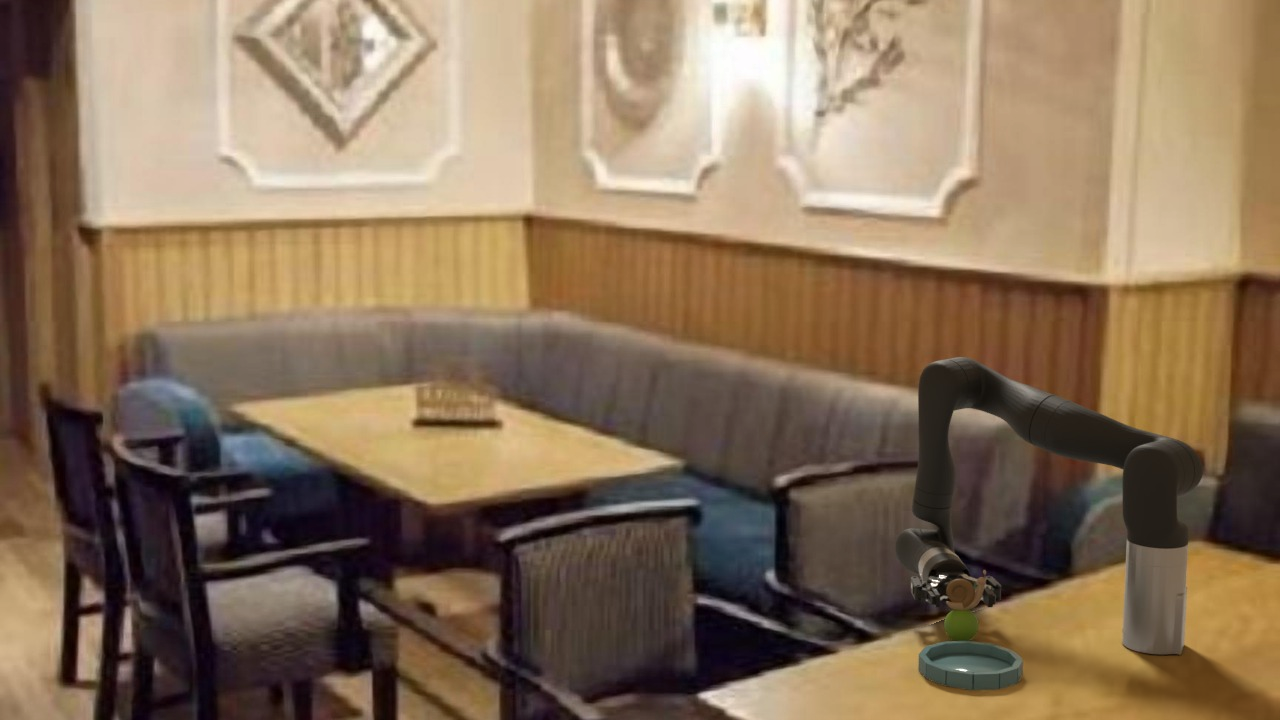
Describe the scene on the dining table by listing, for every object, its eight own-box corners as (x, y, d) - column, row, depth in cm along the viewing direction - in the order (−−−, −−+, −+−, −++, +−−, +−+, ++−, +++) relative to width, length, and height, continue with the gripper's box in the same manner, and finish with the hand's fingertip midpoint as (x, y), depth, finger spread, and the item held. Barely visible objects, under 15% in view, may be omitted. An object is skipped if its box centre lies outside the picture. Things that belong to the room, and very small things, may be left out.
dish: (1029, 663, 235) (1029, 648, 235) (1010, 695, 221) (1011, 679, 221) (932, 650, 241) (933, 636, 241) (909, 680, 227) (909, 665, 227)
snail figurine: (984, 648, 242) (986, 575, 240) (943, 645, 243) (945, 573, 242) (983, 637, 247) (986, 565, 246) (943, 635, 249) (945, 563, 247)
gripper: (902, 552, 261) (921, 579, 244) (985, 552, 261) (1009, 578, 245) (901, 594, 262) (919, 624, 246) (984, 594, 262) (1007, 623, 246)
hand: (964, 601), depth 245 cm, fingers open, 8 cm apart
